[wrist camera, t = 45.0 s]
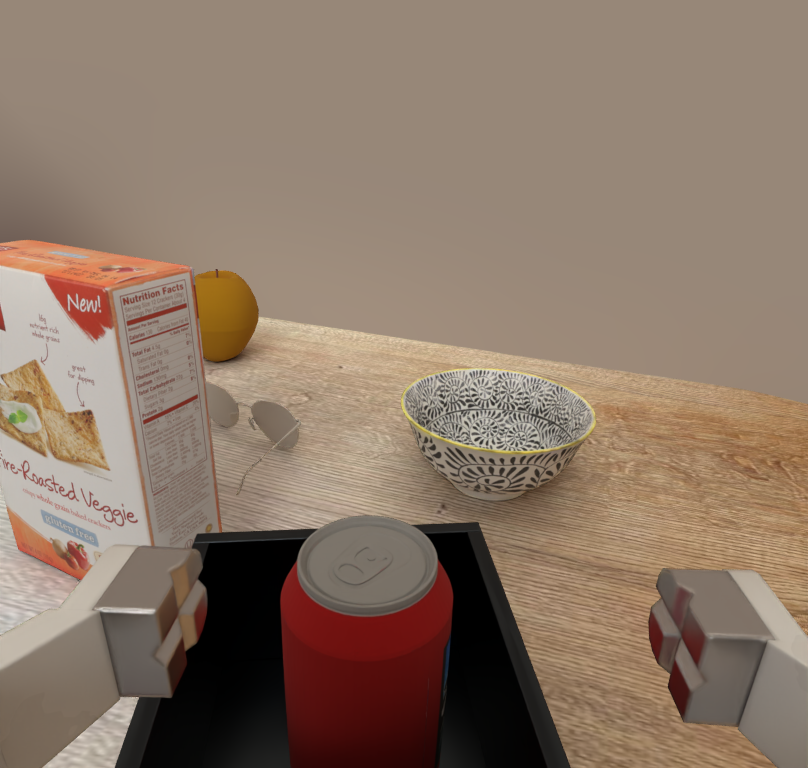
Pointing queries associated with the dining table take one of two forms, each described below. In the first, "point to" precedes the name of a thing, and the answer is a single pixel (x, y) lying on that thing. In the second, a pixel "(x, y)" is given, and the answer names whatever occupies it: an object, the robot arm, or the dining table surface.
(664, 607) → the robot arm
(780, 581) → the dining table surface
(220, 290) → the apple
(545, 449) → the bowl
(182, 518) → the cracker box
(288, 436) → the sunglasses
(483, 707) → the black open box
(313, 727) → the beverage can
